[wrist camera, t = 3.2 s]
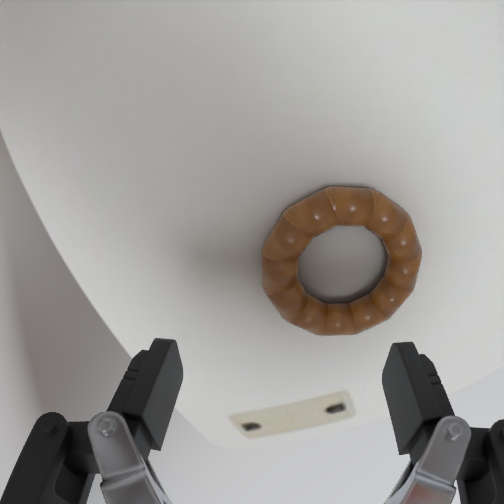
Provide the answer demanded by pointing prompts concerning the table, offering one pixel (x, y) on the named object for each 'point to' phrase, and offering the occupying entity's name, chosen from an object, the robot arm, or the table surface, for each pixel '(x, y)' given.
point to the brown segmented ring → (319, 221)
